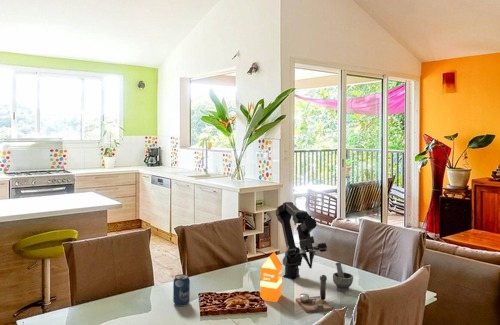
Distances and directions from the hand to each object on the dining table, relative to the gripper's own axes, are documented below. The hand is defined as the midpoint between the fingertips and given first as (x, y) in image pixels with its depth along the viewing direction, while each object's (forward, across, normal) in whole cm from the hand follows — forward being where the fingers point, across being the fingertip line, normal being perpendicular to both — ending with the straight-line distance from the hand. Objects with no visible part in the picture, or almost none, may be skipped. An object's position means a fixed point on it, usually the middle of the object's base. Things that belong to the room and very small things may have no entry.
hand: (310, 268), depth 188 cm
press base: (+17, -1, -6) cm, 18 cm away
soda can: (+9, -57, -19) cm, 61 cm away
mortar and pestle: (+9, +12, +16) cm, 22 cm away
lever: (+15, -2, -5) cm, 16 cm away
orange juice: (+10, -20, -2) cm, 23 cm away
